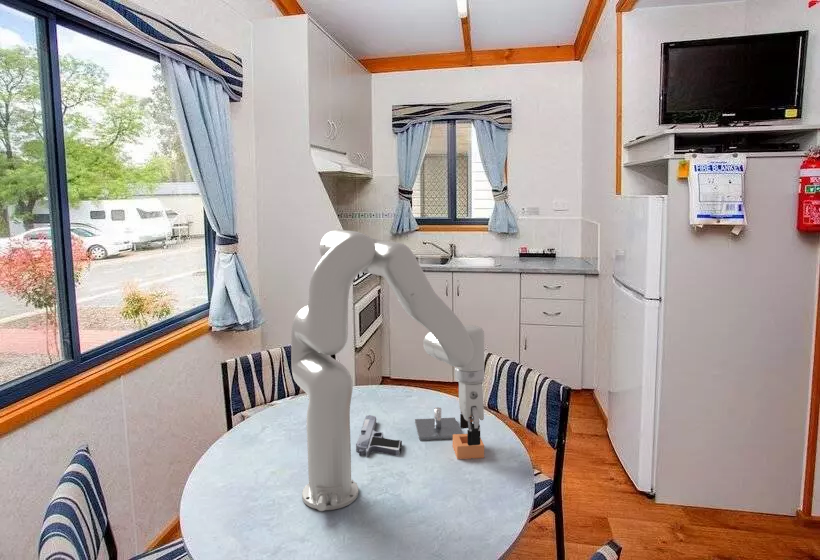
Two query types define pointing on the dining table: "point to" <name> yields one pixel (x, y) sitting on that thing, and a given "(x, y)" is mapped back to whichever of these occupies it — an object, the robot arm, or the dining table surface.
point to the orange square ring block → (466, 447)
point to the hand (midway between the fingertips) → (470, 436)
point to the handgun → (375, 440)
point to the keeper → (437, 427)
